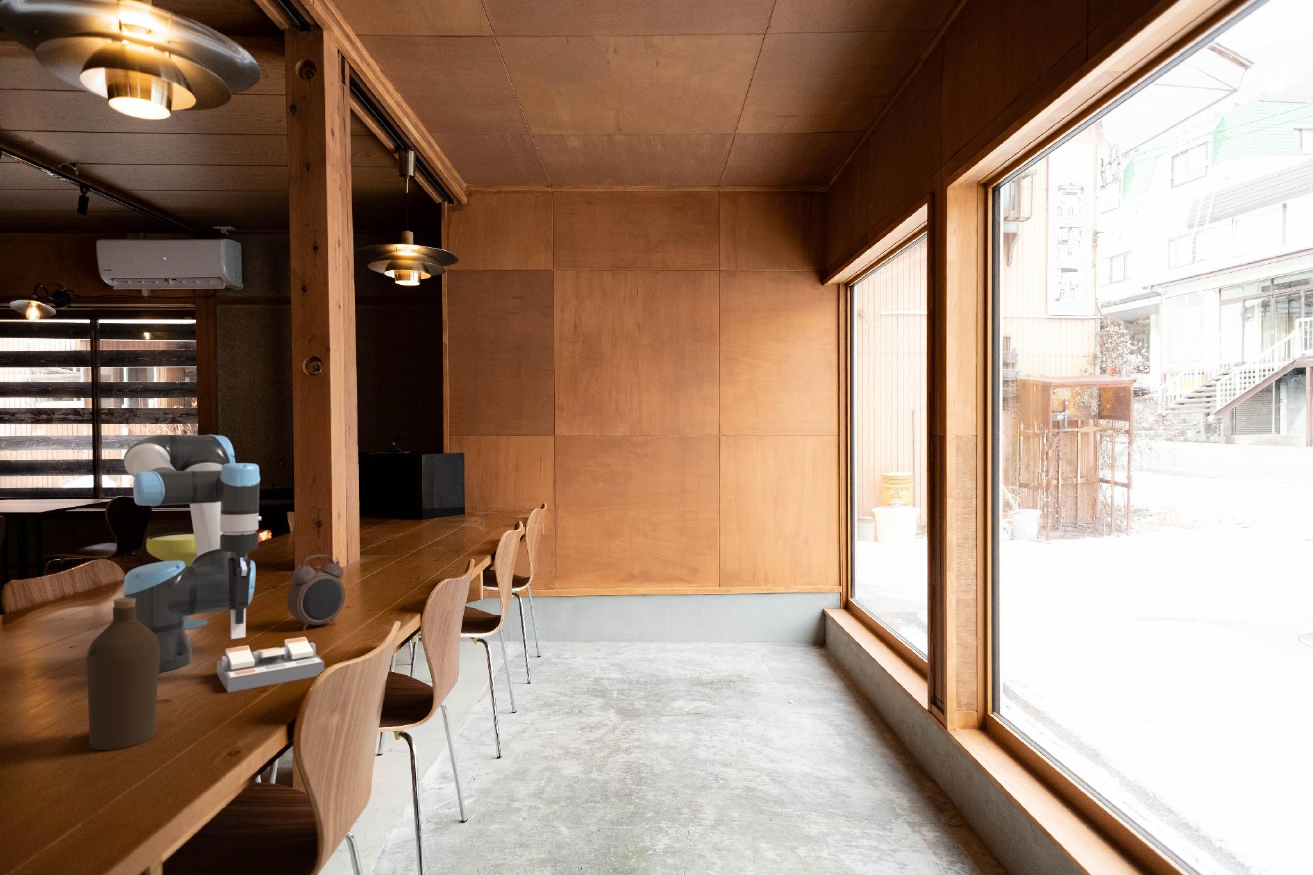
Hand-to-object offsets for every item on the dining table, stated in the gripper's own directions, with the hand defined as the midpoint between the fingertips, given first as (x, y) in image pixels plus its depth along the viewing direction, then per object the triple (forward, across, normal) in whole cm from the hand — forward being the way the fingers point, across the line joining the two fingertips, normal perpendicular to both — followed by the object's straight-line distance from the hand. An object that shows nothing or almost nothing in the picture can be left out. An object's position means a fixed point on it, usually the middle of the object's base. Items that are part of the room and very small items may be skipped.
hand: (238, 637), depth 163 cm
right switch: (+4, -3, -12) cm, 13 cm away
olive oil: (+9, -26, +22) cm, 35 cm away
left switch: (+4, -3, 0) cm, 5 cm away
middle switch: (+4, -3, -6) cm, 8 cm away
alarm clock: (+9, +32, -25) cm, 42 cm away
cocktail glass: (+9, +54, +4) cm, 55 cm away
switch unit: (+9, -4, -6) cm, 11 cm away
